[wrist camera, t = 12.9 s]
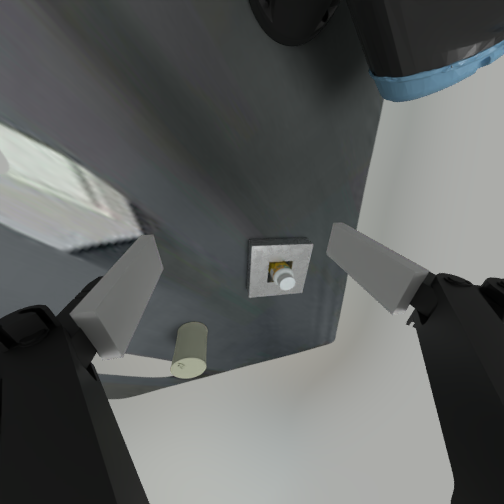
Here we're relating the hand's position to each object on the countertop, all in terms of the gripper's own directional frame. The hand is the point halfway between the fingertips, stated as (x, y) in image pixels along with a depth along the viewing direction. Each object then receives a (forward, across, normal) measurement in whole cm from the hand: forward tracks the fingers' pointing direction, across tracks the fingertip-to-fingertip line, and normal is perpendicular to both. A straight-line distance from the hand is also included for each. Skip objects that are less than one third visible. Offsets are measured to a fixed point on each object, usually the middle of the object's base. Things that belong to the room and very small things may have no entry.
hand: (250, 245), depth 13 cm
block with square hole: (+29, +12, -22) cm, 38 cm away
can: (+28, -14, -44) cm, 55 cm away
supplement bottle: (+29, +12, -22) cm, 38 cm away
